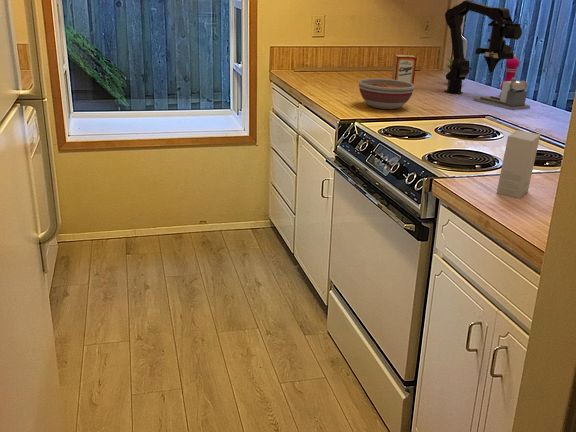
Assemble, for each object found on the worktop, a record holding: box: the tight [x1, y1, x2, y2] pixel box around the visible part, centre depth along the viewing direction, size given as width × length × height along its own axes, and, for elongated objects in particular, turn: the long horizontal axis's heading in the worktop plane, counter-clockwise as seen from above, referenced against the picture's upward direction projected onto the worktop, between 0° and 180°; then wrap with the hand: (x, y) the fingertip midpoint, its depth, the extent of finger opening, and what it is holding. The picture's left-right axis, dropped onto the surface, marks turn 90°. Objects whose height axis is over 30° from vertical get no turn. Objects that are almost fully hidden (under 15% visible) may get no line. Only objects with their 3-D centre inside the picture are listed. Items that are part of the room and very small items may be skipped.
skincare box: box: [496, 129, 541, 199], centre depth 159 cm, size 8×7×16 cm
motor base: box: [472, 80, 531, 111], centre depth 278 cm, size 22×12×12 cm, turn 32°
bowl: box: [358, 78, 415, 110], centre depth 258 cm, size 23×23×10 cm
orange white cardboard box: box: [391, 54, 418, 85], centre depth 303 cm, size 10×6×16 cm
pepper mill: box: [499, 54, 520, 98], centre depth 295 cm, size 7×7×20 cm
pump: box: [499, 77, 517, 103], centre depth 275 cm, size 4×6×11 cm
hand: (491, 72), depth 284 cm, fingers closed
